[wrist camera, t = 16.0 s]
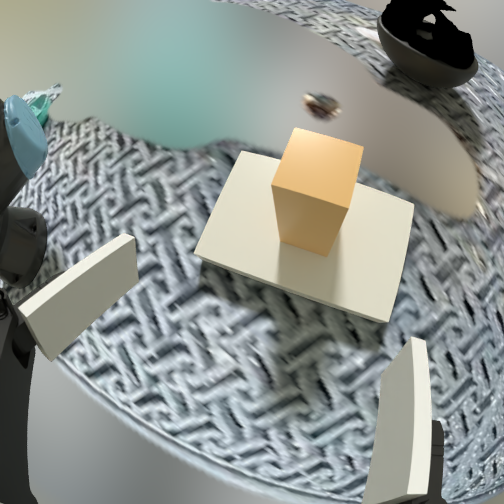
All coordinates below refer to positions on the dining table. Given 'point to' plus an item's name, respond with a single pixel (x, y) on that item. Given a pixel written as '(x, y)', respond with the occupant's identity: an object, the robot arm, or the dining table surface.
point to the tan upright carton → (314, 189)
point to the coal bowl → (426, 43)
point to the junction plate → (305, 262)
